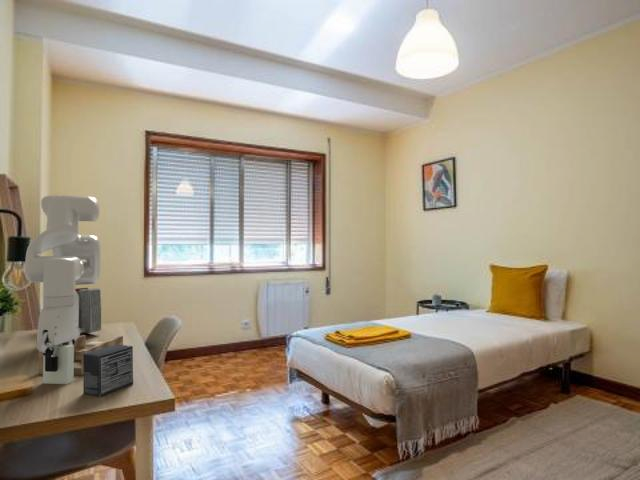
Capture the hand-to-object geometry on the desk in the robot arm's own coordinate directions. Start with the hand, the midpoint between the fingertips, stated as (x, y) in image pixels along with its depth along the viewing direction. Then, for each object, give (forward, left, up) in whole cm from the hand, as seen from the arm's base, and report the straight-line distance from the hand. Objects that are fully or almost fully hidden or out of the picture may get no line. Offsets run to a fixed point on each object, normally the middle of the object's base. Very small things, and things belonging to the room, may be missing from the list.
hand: (58, 367), depth 112 cm
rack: (-16, -4, -4) cm, 17 cm away
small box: (+4, +17, -4) cm, 18 cm away
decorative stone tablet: (-61, -38, -4) cm, 72 cm away
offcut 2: (-22, -3, -1) cm, 22 cm away
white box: (0, 0, -4) cm, 4 cm away
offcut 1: (-23, -7, -4) cm, 24 cm away
